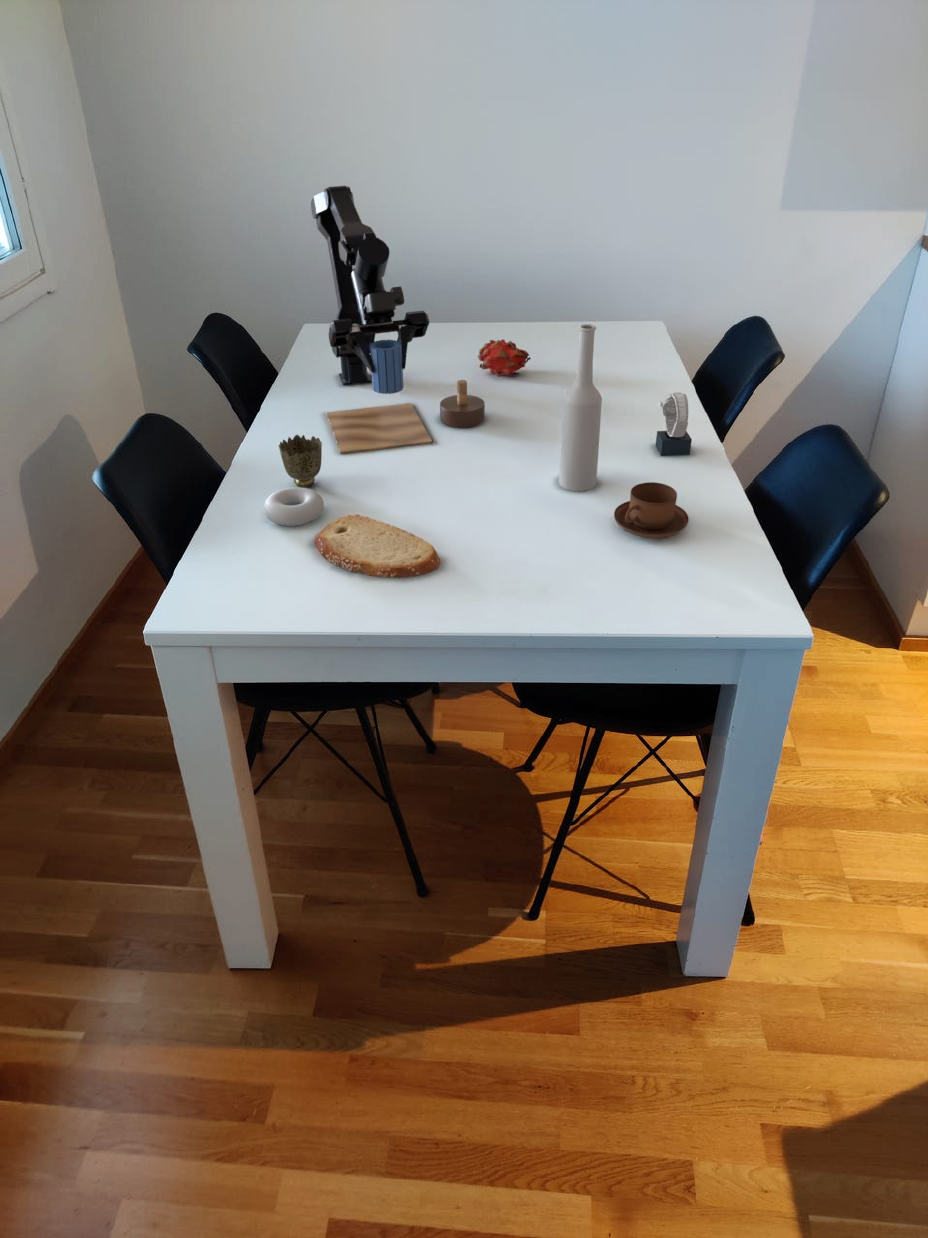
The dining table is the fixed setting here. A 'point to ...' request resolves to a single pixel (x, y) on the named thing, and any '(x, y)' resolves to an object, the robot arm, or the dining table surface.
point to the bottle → (581, 422)
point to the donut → (293, 506)
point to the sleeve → (387, 366)
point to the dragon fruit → (502, 357)
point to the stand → (462, 409)
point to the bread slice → (375, 548)
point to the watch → (674, 426)
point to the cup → (302, 459)
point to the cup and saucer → (651, 511)
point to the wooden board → (377, 428)
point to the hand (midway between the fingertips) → (388, 369)
